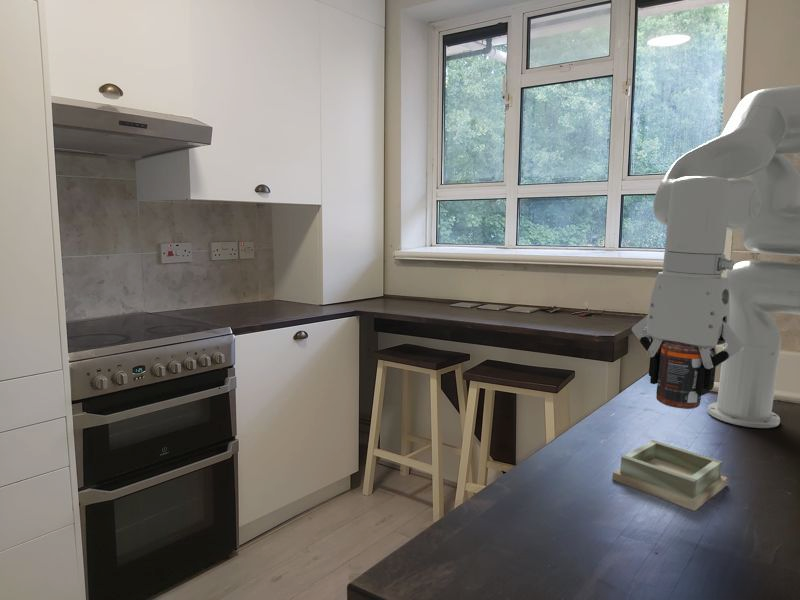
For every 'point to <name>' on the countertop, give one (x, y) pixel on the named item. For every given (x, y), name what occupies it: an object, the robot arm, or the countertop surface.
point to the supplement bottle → (679, 375)
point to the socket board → (672, 474)
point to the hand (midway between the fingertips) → (679, 386)
